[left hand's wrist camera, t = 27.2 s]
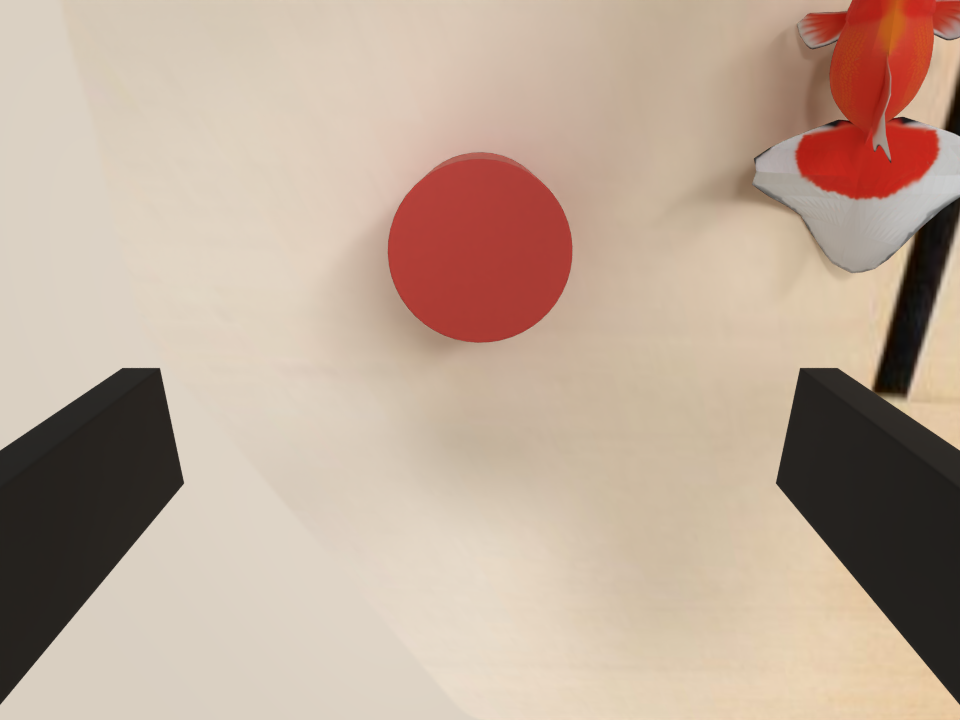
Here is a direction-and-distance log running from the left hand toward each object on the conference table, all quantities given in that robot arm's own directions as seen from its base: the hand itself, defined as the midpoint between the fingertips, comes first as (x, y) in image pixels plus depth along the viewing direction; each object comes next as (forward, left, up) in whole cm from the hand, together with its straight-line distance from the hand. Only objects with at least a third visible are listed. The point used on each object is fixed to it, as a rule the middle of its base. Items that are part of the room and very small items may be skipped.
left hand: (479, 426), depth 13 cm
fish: (+12, +17, -25) cm, 33 cm away
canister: (0, 0, -25) cm, 25 cm away
